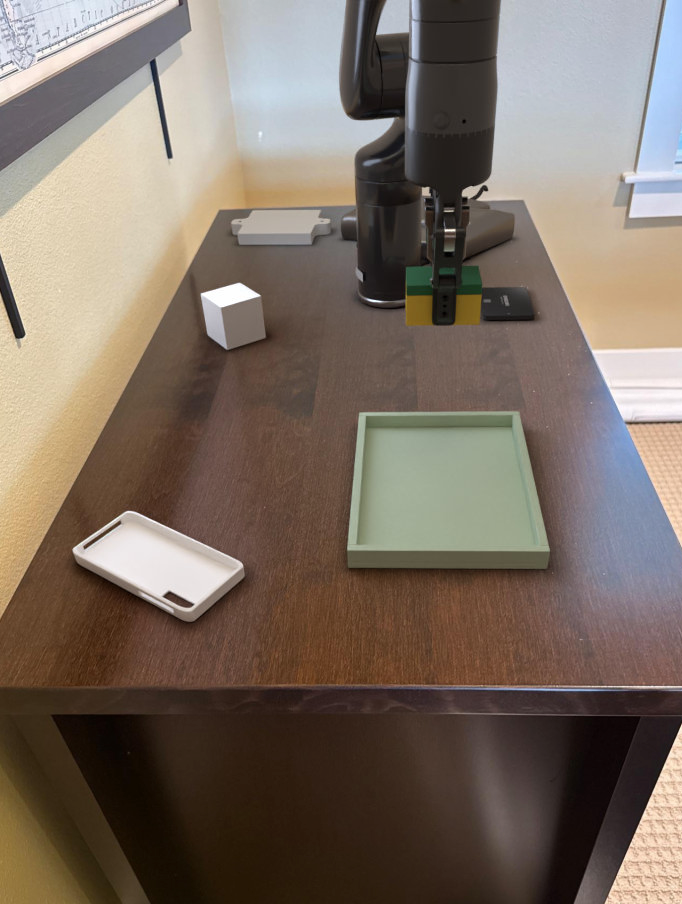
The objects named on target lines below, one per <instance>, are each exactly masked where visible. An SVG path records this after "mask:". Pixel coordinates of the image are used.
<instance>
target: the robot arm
mask: <svg viewBox="0 0 682 904" xmlns="http://www.w3.org/2000/svg"><path fill="white" fill-rule="evenodd" d="M387 2H388V0H345V8H344V15H343V25H342V33H341V34H342V35H341V42H340V43H341V44H340V53H339V66H338V91H339V99H340V103H341V107H342V110H343V112H344V114H345V115H346V116H347V117H348V118H349V119H350V120H353V121H360V122H361V121H365V122H367V121H377V120H378V121H379V120H387V119H393V121H392V123H391V125H390V127H388V129H387V130H386V131H385V132H384V133H382V135H380V136H379V137H378V138H376V139H375V140H372V141H370V142H369V143H367V144H365V145H363V146H362V147H360V148H359V149H358V150H357V151H356V152H355V155H354V159H353V162H354V163H353V168H354V169H353V170H354V195H355V209H356V225H357V240H356V250H357V251H356V253H357V267H355V277H357V285H358V288H357V298H358V300H359V301H360V302H362V303H363V304H365V305H367V306H370V307H375V308H383V309H393V308H401V307H406V267H424V266H426V265H427V264H428V263H430V267H431V266H432V278H431V280H430V284H431V285H432V288H433V295H432V323H433V324H434V325H433V326H436V327H438V326H439V327H441V326H442V327H444V326H445V327H446V326H447V327H448V326H449V327H450V326H454V325H453V324H454V323H455V318H456V299H457V289H460V286H461V284H462V278H461V274H462V266H463V261H464V260H465V259H466V258H465V256H466V228H467V226H468V225H469V222H470V205H468V199H473V200H477V201H478V199H479V198H480V197H481V196H482V195H483V193H484V192H489V187H488V185H486V184H484V183H485V182H487V181H488V180H489V179H490V177H491V175H492V171H493V157H494V146H495V145H494V144H495V130H496V119H497V104H498V92H499V91H498V89H499V85H498V84H499V83H498V81H499V79H498V56H497V55H498V48H499V36H500V35H499V32H500V19H501V6H502V0H409V2H408V3H409V5H408V6H409V7H408V9H409V10H408V11H409V13H408V31H406V32H394V33H393V32H392V33H391V32H390V33H380V34H377V33H378V28H379V24H380V21H381V18H382V15H383V11H384V9H385V6H386V5H387ZM482 184H483V185H482ZM480 185H481V187H480V188H479V190H478V191H477V193H476V194H475V195H473V196H471V197H470V198H469V196H468V195H463V191H465V190H466V189H468V188H470V187H477V186H480ZM425 188H428V194H429V196H430V197H424V217H425V226H426V243H427V258H428V259H421V235H422V195H423V189H425ZM464 258H465V259H464ZM441 268H454V272H453V274H439V270H440V269H441Z"/></svg>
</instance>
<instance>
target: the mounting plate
mask: <svg viewBox="0 0 682 904" xmlns="http://www.w3.org/2000/svg"><path fill="white" fill-rule="evenodd" d="M322 214H323V213H322V209H269V210H268V209H253V210H252V211H251V212H250V214H249V215H248V217H245V218H235V219H232V220H231V222H230V226H231V233H232V235H233V236H237V242H238V245H240V246H249V245H250V246H253V245H254V246H258V245H259V246H262V245H263V246H266V245H267V246H270V245H271V246H272V245H273V246H279V245H280V246H282V245H283V246H287V245H291V246H292V245H294V246H295V245H297V246H306V245H308V246H309V245H312V244H313V242H314V240H315V238H316V237H317V236H328V235H330V234H331V233H332V225H331V224H332V223H331V219H330V218H323V216H322Z"/></svg>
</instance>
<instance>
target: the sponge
mask: <svg viewBox="0 0 682 904" xmlns="http://www.w3.org/2000/svg"><path fill="white" fill-rule="evenodd" d="M453 272H454V268H441V269H440V270H439V274H453ZM431 278H432V266H431V265H430V266H421V267H406V306H405V326H406V327H412V326H413V327H414V326H415V327H416V326H417V327H418V326H421V327H422V326H423V327H424V326H435V325H434V324H433V323H432V295H433V288H432V285H431V284H430V280H431ZM461 278H462V284H461V286H460V289H457V299H456V318H455V323H454V324H453V325H452V326H480V325H481V324H480V322H481V312H482V307H481V297H482V288H483V281H482V276H481V271H480V266H479V265H462V274H461Z"/></svg>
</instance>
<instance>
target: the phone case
mask: <svg viewBox="0 0 682 904" xmlns="http://www.w3.org/2000/svg"><path fill="white" fill-rule="evenodd" d="M118 522H120V524H119V525H117V526H116V527H115V528H113V529H112V530H111V531H109V532H108V533H106V534H105V535H103V536H102V537H100V538H99V539H98V540H96V541H95V542H94V543H92V544H91V545H89V546H87V548H85V547H84V546H86V545H87V544H88V543H90V542H91V541H92V540H94V539H96V538H97V537H99V535H101V534H103V533H104V532H106V531H108V529H110V528H111V527H113V526H114V525H115V524H117V523H118ZM72 554H73V556H74V559H75V562H76V563H77V564H78V565H80V566H81V567H83V568H85V569H87V570H88V571H91V572H93V573H94V574H96V575H98V576H100V577H101V578H103V579H106V580H107V581H109V582H111V583H113V584H115V585H116V586H117V587H120V588H122V589H124V590H125V591H127V592H129V593H131V594H133V595H135V596H137V597H139V598H140V599H142V600H144V601H146V602H147V603H150V604H152V605H154V606H155V607H158V608H159V609H161V610H163V611H165V612H167V613H168V614H170V615H172V616H174V617H176V618H178V619H180V620H182V621H184V622H188V623H192V622H195V621H196V620H197V619H198V618H200V616H202V615H203V614H204V613H205V612H206V611H207V610H209V609H210V608H211V607H212V606H213V605H214V604H215V603H217V602H218V601H219V600H220V599H221V598H222V597H224V596H225V595H226V594H227V593H228V592H229V591H230V590H232V588H234V587H235V586H236V585H237V584H238V583H239V582H241V581H242V580H243V579H244V578H245V576H246V575H245V567H244V564H243V563H242V562H241V561H240V560H238V559H237V558H234V557H232V556H230V555H228V554H226V553H224V552H222V551H219V550H217V549H215V548H214V547H212V546H209V545H207V544H204V543H202V542H200V541H198V540H196V539H194V538H192V537H189V536H188V535H186V534H183V533H182V532H179V531H178V530H175V529H173V528H170V527H168V526H167V525H164V524H162V523H160V522H158V521H155V520H153V519H151V518H149V517H147V516H145V515H143V514H141V513H138V512H137V511H133V510H127V511H124V512H123V513H121V514H120V515H119V516H118V517H116V518H114V519H113V520H112V521H110V522H109V523H107V524H106V525H104V526H103V527H101V528H100V529H98V530H97V531H96V532H94V533H92V534H91V535H89V536H88V537H87V538H86V539H84V540H83V541H81V542H80V543H78V544H77V545H76V546H74V547H73V548H72ZM168 593H171V594H173V595H175V596H177V597H179V598H181V599H183V600H185V601H186V602H188V603H190V604H192V606H190V607H184V606H181V605H178V604H176V603H175V602H173V601H171V600H169V599H167V598H165V596H166V595H167V594H168Z"/></svg>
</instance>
